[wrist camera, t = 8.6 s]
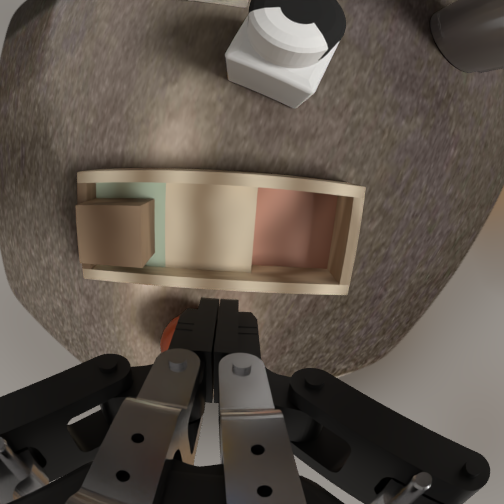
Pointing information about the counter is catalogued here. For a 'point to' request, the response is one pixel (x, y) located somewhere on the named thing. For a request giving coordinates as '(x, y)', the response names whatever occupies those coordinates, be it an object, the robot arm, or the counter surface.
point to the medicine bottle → (285, 47)
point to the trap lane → (237, 229)
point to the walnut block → (116, 231)
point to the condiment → (227, 2)
